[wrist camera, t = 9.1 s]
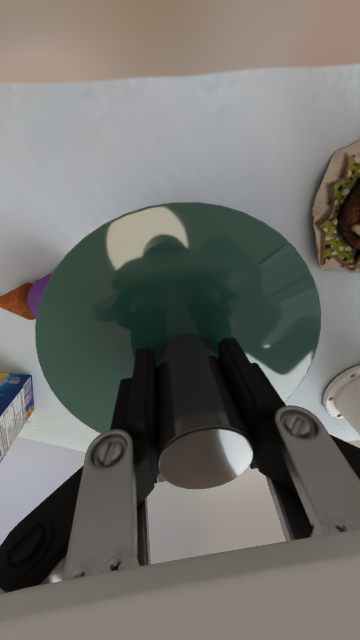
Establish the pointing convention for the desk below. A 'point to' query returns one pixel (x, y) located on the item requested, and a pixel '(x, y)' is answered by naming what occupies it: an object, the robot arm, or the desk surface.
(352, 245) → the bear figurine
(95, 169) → the desk surface
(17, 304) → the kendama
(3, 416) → the blue cardboard box
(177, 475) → the pot lid
